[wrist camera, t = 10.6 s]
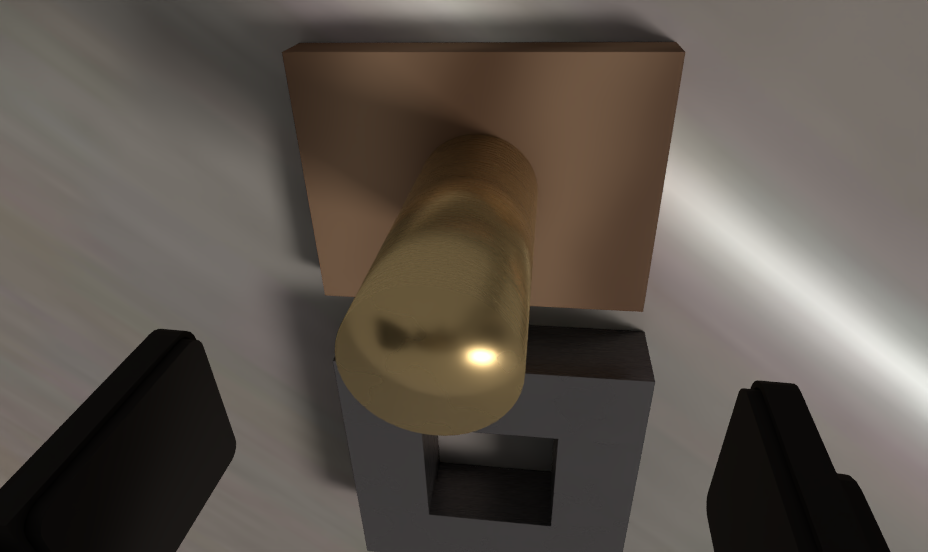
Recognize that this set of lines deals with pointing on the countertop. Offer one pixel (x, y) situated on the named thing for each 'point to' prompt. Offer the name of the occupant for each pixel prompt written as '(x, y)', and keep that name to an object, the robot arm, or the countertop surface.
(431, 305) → the key peg
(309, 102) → the board
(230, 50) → the countertop surface
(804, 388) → the countertop surface
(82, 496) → the robot arm
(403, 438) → the grey square frame
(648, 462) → the countertop surface
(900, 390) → the countertop surface
